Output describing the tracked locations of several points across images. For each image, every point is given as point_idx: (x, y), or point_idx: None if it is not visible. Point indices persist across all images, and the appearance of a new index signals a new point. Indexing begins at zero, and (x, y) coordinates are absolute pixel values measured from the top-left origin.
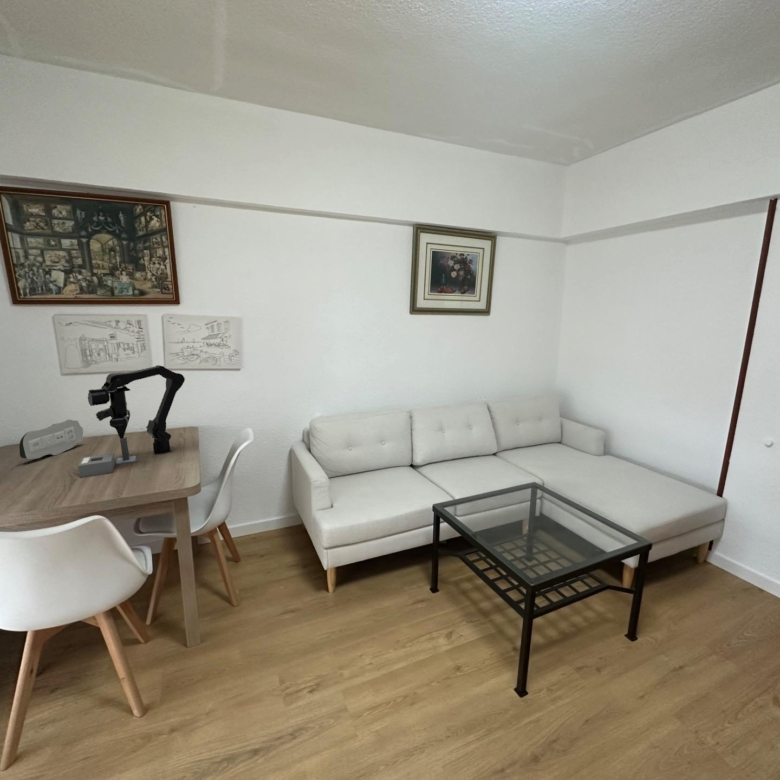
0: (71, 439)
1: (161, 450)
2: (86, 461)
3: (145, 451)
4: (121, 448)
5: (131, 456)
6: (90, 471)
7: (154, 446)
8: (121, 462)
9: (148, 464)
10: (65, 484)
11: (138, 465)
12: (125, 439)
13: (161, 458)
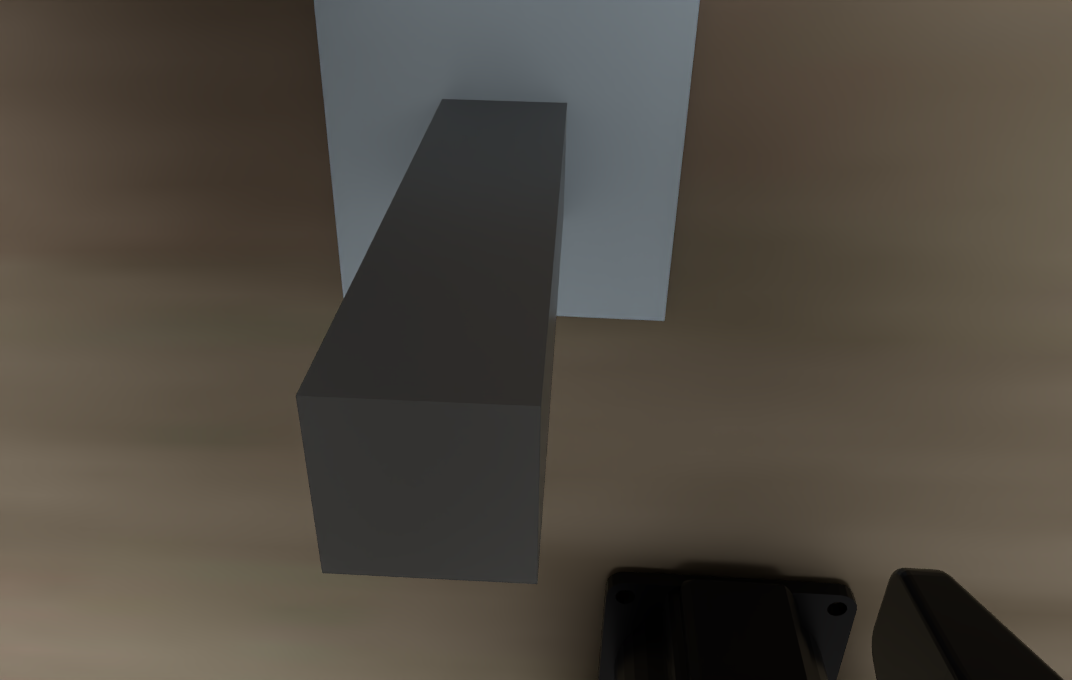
0: None
1: (617, 674)
2: None
3: (896, 453)
4: (383, 226)
5: (664, 249)
6: None
7: (687, 673)
8: (331, 73)
9: (98, 471)
10: None
11: (93, 346)
12: (320, 529)
13: (331, 618)
